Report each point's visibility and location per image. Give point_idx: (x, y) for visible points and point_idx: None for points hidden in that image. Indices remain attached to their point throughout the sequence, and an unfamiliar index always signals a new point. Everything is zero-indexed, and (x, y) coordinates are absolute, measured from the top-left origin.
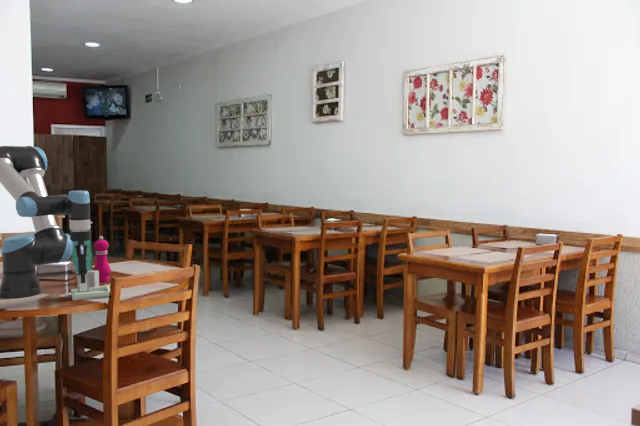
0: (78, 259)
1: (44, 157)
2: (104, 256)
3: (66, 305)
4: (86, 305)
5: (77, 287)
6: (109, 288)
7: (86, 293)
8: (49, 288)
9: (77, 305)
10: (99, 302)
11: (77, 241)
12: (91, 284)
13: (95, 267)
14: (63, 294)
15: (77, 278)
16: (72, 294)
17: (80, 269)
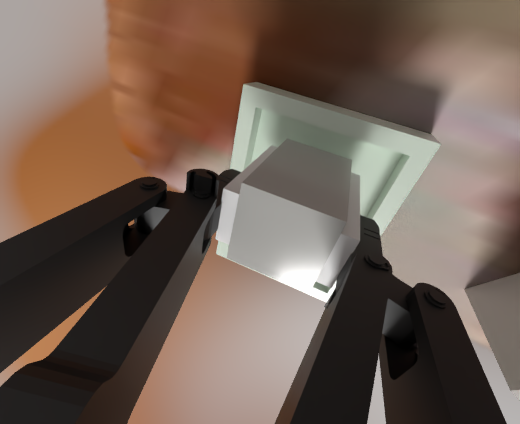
0: (304, 391)
1: None
2: None
3: (162, 11)
4: (130, 105)
5: (335, 162)
6: (278, 280)
7: (233, 164)
8: None
9: (142, 68)
10: (161, 168)
11: None
12: (497, 302)
13: None
14: (508, 90)
15: (255, 169)
16: (254, 88)
17: (109, 201)
